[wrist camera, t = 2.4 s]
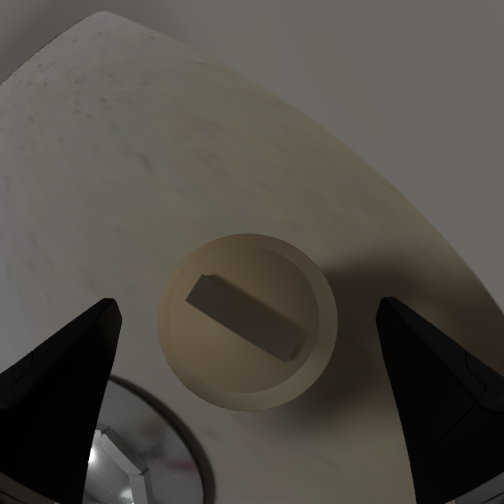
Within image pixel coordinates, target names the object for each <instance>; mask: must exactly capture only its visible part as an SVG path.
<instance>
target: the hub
mask: <svg viewBox="0 0 504 504" xmlns="http://www.w3.org/2000/svg"><path fill="white" fill-rule="evenodd" d="M204 493H205V488H204V481H203V476H202V473H201V469H200V466H199V464H198V462H197V459H196V457H195V455H194V453H193V451H192V450H191V448H190V446H189V445H188V443H187V441H186V440H185V439H184V437H183V436H182V434H181V433H180V432H179V430H178V429H177V428H176V427H175V426H174V425H173V423H172V422H171V421H170V420H169V419H168V418H167V417H166V416H165V415H164V414H163V413H162V412H161V411H160V410H159V409H158V408H157V407H156V406H154V405H153V404H152V403H151V402H149V401H148V400H147V399H146V398H144V397H143V396H142V395H140V394H139V393H137V392H136V391H134V390H133V389H131V388H129V387H128V386H126V385H124V384H122V383H120V382H118V381H116V380H114V379H111V378H109V380H108V383H107V387H106V390H105V394H104V398H103V402H102V405H101V409H100V413H99V417H98V422H97V426H96V430H95V435H94V439H93V444H92V449H91V454H90V459H89V465H88V470H87V476H86V482H85V488H84V495H83V502H82V504H203V503H204ZM55 503H56V504H59V503H57V502H55Z"/></svg>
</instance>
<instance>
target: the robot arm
mask: <svg viewBox="0 0 504 504" xmlns="http://www.w3.org/2000/svg"><path fill="white" fill-rule="evenodd" d="M376 324H377V329H378V334H379V339H380V344H381V349H382V354H383V359H384V362H385V366H386V369H387V373H388V376H389V379H390V383H391V386H392V390H393V394H394V397H395V401H396V405H397V409H398V413H399V417H400V421H401V425H402V429H403V433H404V438H405V442H406V447H407V451H408V456H409V461H410V467H411V472H412V478H413V484H414V490H415V496H416V503H417V504H445V503H447V502H450V501H452V500H454V499H455V503H456V504H504V377H503V376H502V375H500V374H499V373H497V372H496V371H494V370H493V369H491V368H490V367H488V366H487V365H485V364H484V363H482V362H481V361H480V360H479V359H477V358H476V357H475V356H473V355H472V354H471V353H469V352H468V351H467V350H465V349H464V348H463V347H462V346H460V345H459V344H458V343H456V342H455V341H454V340H452V339H451V338H450V337H448V336H447V335H446V334H444V333H443V332H442V331H440V330H439V329H438V328H436V327H435V326H434V325H432V324H431V323H430V322H428V321H427V320H426V319H424V318H423V317H421V316H420V315H419V314H417V313H416V312H415V311H413V310H412V309H410V308H409V307H408V306H406V305H405V304H403V303H402V302H401V301H399V300H398V299H396V298H395V297H383V298H382V299H381V302H380V305H379V308H378V311H377V314H376ZM121 325H122V316H121V313H120V311H119V308H118V305H117V302H116V300H115V299H113V298H103V299H102V300H100V301H99V302H97V303H96V304H95V305H93V306H92V307H90V308H89V309H88V310H86V311H85V312H83V313H82V314H81V315H79V316H78V317H76V318H75V319H74V320H72V321H71V322H70V323H68V324H67V325H66V326H64V327H63V328H62V329H60V330H59V331H57V332H56V333H55V334H53V335H52V336H51V337H49V338H48V339H47V340H45V341H44V342H43V343H42V344H40V345H39V346H38V347H36V348H35V349H34V351H31V352H30V353H29V354H27V355H26V356H25V357H23V358H22V359H21V360H19V361H18V362H17V363H15V364H14V365H12V366H11V367H10V368H8V369H7V370H5V371H4V372H2V373H1V374H0V504H55V502H57V503H59V504H82V502H83V495H84V488H85V482H86V476H87V470H88V465H89V459H90V454H91V449H92V444H93V439H94V435H95V430H96V426H97V422H98V417H99V413H100V409H101V405H102V402H103V398H104V394H105V390H106V387H107V383H108V380H109V376H110V373H111V369H112V366H113V362H114V359H115V354H116V349H117V344H118V339H119V334H120V329H121Z"/></svg>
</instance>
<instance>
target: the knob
mask: <svg viewBox="0 0 504 504" xmlns="http://www.w3.org/2000/svg"><path fill="white" fill-rule="evenodd" d="M337 330H338V315H337V307H336V302H335V298H334V296H333V293H332V290H331V287H330V285H329V283H328V281H327V279H326V278H325V276H324V275H323V273H322V272H321V270H320V269H319V268H318V266H317V265H316V264H315V263H314V262H313V261H312V260H311V259H310V258H309V257H308V256H307V255H306V254H304V253H303V252H302V251H300V250H299V249H297V248H296V247H294V246H292V245H290V244H288V243H286V242H284V241H282V240H279V239H276V238H274V237H269V236H265V235H258V234H237V235H231V236H226V237H223V238H219V239H216V240H214V241H211V242H209V243H207V244H205V245H203V246H202V247H200V248H198V249H197V250H195V251H194V252H193V253H191V254H190V255H189V256H188V257H187V258H186V259H185V260H184V261H183V262H182V263H181V264H180V265H179V266H178V267H177V269H176V270H175V271H174V273H173V274H172V276H171V277H170V279H169V281H168V283H167V284H166V287H165V289H164V292H163V294H162V298H161V302H160V306H159V313H158V332H159V339H160V343H161V347H162V350H163V353H164V355H165V358H166V360H167V362H168V364H169V366H170V367H171V369H172V371H173V372H174V374H175V375H176V376H177V377H178V379H179V380H180V381H181V382H182V383H183V384H184V385H185V386H186V387H187V388H188V389H189V390H190V391H192V392H193V393H194V394H196V395H197V396H198V397H200V398H202V399H204V400H205V401H207V402H209V403H211V404H214V405H217V406H219V407H222V408H227V409H231V410H238V411H259V410H265V409H270V408H273V407H277V406H280V405H282V404H284V403H287V402H289V401H291V400H293V399H294V398H296V397H297V396H299V395H301V394H302V393H303V392H304V391H306V390H307V389H308V388H309V387H310V386H311V385H312V384H313V383H314V382H315V381H316V380H317V379H318V378H319V376H320V375H321V373H322V372H323V371H324V369H325V368H326V366H327V364H328V362H329V360H330V358H331V355H332V353H333V350H334V347H335V343H336V338H337Z"/></svg>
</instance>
